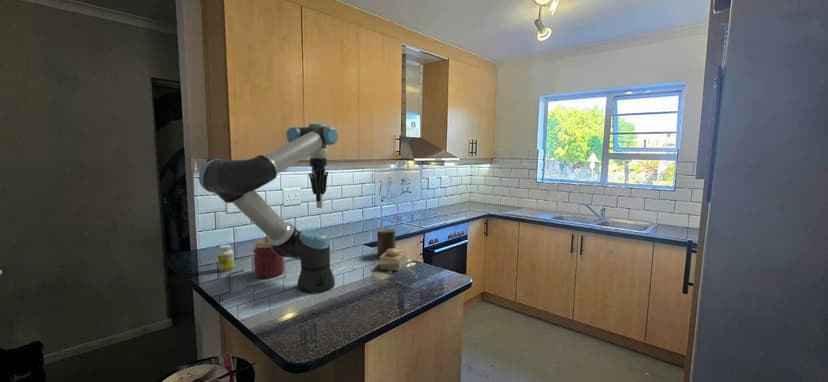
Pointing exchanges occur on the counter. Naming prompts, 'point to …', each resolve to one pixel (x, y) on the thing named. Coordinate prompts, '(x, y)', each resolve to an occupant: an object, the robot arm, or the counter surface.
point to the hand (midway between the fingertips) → (320, 207)
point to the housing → (392, 261)
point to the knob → (392, 252)
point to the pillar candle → (385, 240)
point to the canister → (267, 260)
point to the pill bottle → (226, 258)
